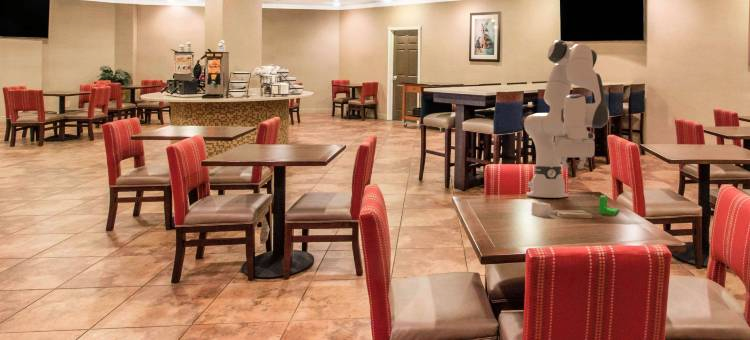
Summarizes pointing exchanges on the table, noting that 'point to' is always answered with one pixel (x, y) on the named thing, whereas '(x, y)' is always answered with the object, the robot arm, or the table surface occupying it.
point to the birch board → (573, 214)
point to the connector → (541, 209)
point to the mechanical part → (604, 209)
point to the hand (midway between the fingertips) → (573, 168)
